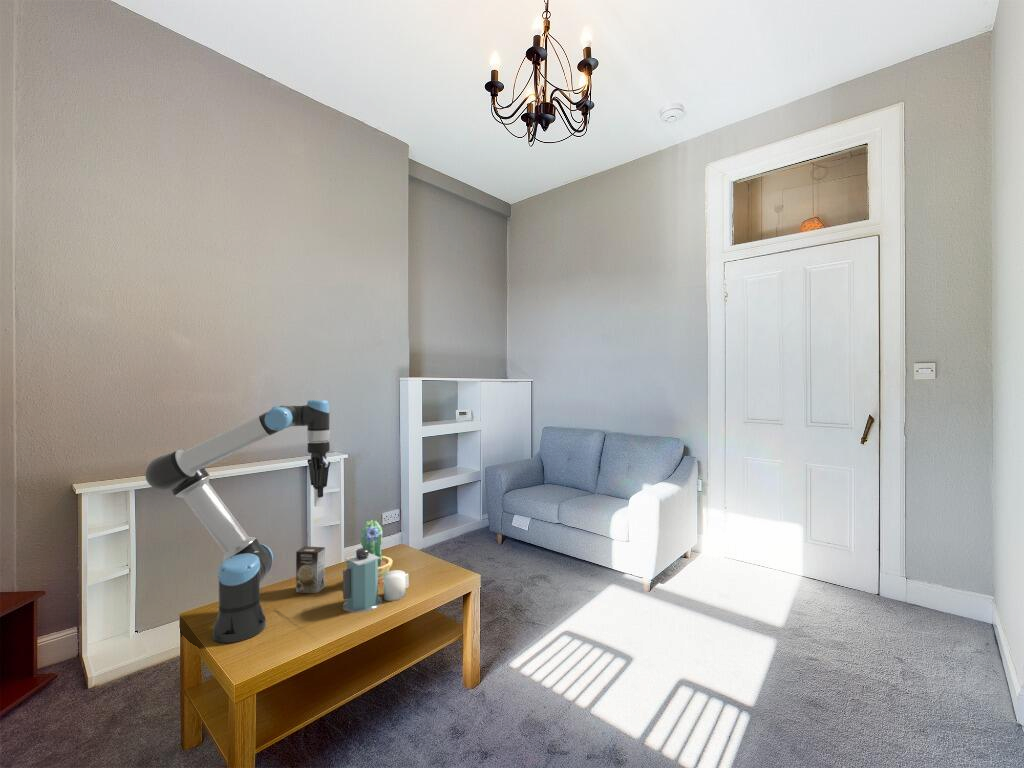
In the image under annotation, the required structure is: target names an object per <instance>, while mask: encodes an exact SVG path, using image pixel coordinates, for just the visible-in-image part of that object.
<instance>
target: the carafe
mask: <svg viewBox="0 0 1024 768" xmlns="http://www.w3.org/2000/svg"><path fill="white" fill-rule="evenodd" d="M378 559H380V557H378V556H375V555H373V554H370V553H369V556H367V557H364V559H363V560H361V558H358V557H356V554H355V555H351V556H349V557H346V558H345V559H344V560H345V561H347V562H346V569H343V570H342V589H343V590H342V599H343V600H346V601H347V606H348V607H349V608H351V609H353V610H362V609H367V608H370V607H372V606H375V605H376V603H377V601H378V596H379V583H378Z"/></svg>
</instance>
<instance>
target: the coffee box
mask: <svg viewBox="0 0 1024 768" xmlns="http://www.w3.org/2000/svg"><path fill="white" fill-rule="evenodd" d="M325 551H326V547H325V546H308V545H307V546H306V545H305V546H303V547H301V548H300V549H298V550H297V551H296V552H295V562H296V563H295V570H296V571H295V573H296V574H295V592H296V593H302V594H303V593H305V594H306V593H307V594H317V593H319V592H320V591H322V590H323V589H324V588H325V585H326V584H325V583H326V581H325V579H326V577H325V575H326V574H325V573H326V571H325V569H326V568H325V567H326V563H325V562H326V559H325V558H326V552H325Z"/></svg>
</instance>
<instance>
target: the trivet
mask: <svg viewBox="0 0 1024 768" xmlns="http://www.w3.org/2000/svg"><path fill="white" fill-rule="evenodd" d="M383 600H384V599H383V598H382V597H381V596H380V595H378V601H377V603H376V605H375V606H372V607H370V608H367V609H362V610H353V609H351V608H349V607H348V606H347V600H346V601H344V602H343V604H342V609H343V610H344V611H346V612H350V613H365V612H368V611H369V612H370V611H373V610H375V609H376V608H379V607H380V606H381V605H382V604H383Z"/></svg>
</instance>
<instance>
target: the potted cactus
mask: <svg viewBox="0 0 1024 768" xmlns="http://www.w3.org/2000/svg"><path fill="white" fill-rule="evenodd" d="M382 543H383V528H382V526H381V525H380V523H379V522H378V521H377V520H373V519H371V520H370V521H366V522H365V524H364V525H363V527H362V529H361V530H360V544H361V546H362V547H361V548H368V549H369V553H370V554H373V555H375V556H378V557H380V559H378V584H381V583H382V582H383V583H384V578H383V575H384V574H385V573H386V572H389V571H390V568H391V567H392V566H393V559H392V558H391V557H388V556H385V555H382Z"/></svg>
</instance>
